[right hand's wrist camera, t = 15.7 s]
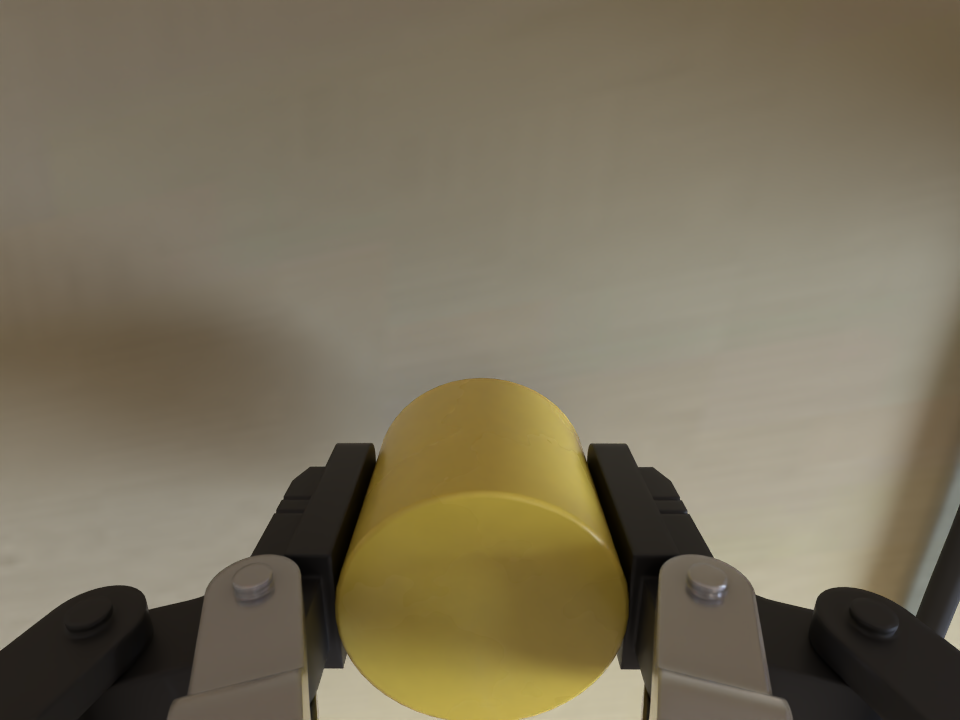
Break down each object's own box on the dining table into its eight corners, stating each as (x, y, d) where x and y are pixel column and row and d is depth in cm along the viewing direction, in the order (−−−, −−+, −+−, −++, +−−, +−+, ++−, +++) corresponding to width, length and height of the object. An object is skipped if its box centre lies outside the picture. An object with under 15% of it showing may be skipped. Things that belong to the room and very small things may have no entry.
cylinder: (353, 519, 13) (298, 681, 9) (419, 345, 12) (388, 449, 8) (534, 577, 14) (556, 754, 10) (618, 420, 12) (685, 551, 8)
